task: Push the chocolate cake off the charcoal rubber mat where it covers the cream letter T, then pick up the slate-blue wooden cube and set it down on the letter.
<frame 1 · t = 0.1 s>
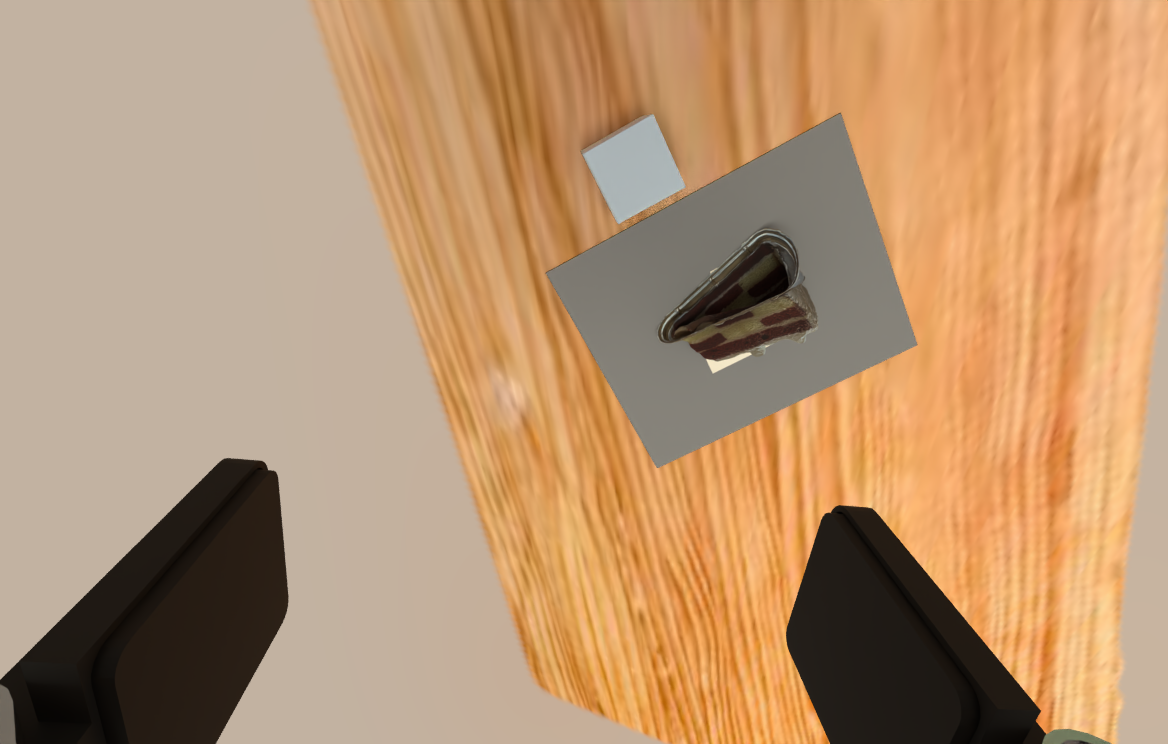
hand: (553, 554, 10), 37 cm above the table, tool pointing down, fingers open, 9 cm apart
letter mat: (738, 310, 48), on the table
cube: (626, 166, 43), on the table
chocolate cake: (738, 309, 48), resting on letter mat
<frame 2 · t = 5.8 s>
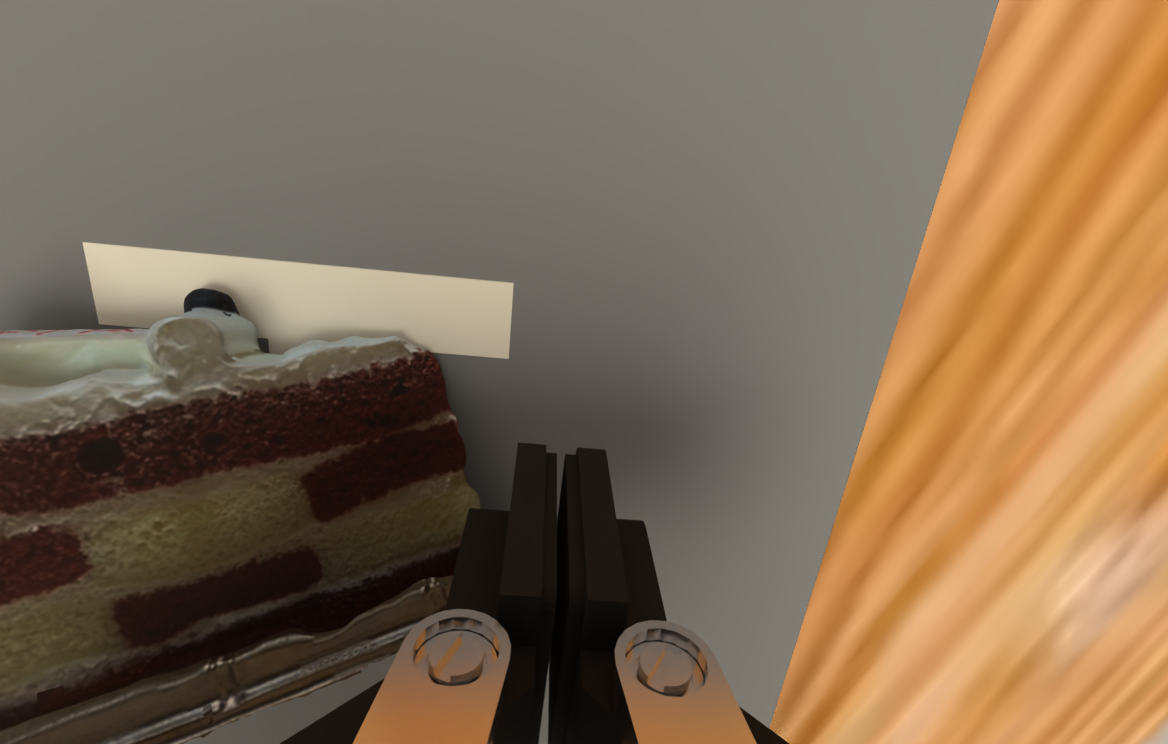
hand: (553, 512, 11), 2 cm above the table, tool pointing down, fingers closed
letter mat: (318, 443, 13), on the table
chocolate cake: (253, 438, 13), resting on letter mat, touching gripper
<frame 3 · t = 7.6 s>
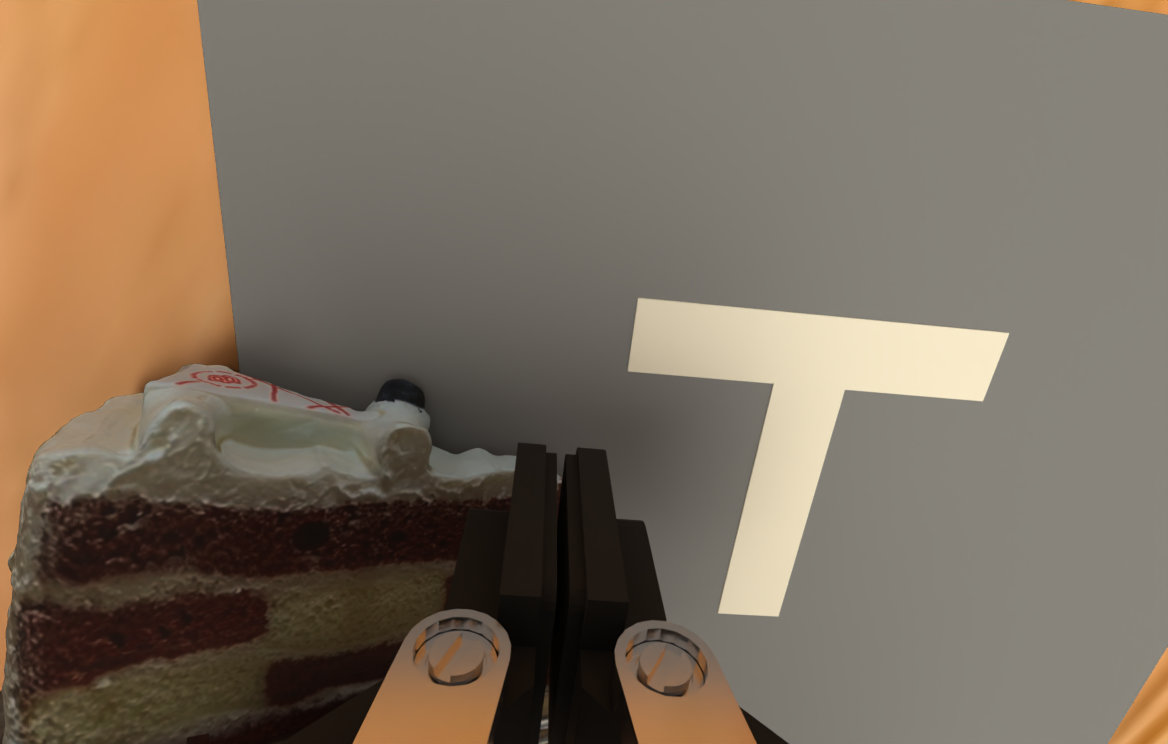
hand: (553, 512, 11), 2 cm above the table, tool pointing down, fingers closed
letter mat: (781, 477, 14), on the table
chocolate cake: (370, 499, 14), resting on letter mat
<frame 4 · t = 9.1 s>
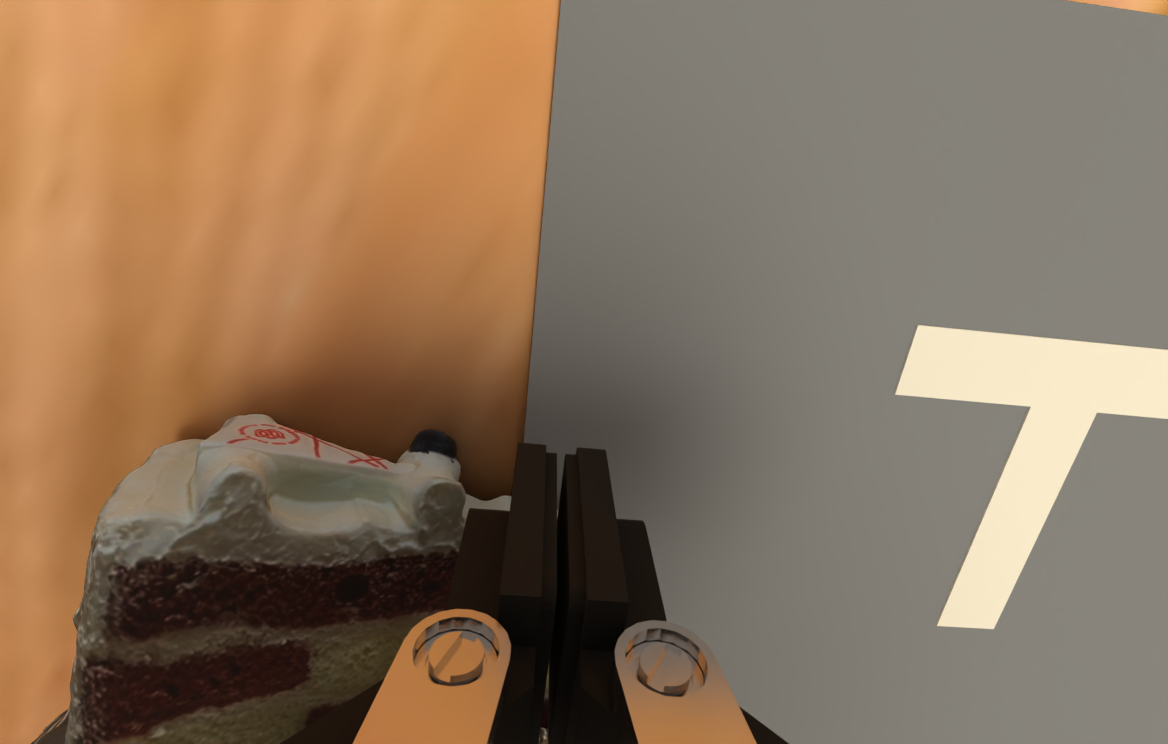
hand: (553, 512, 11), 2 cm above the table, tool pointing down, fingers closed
letter mat: (1018, 496, 14), on the table
chocolate cake: (399, 540, 14), on the table, touching gripper
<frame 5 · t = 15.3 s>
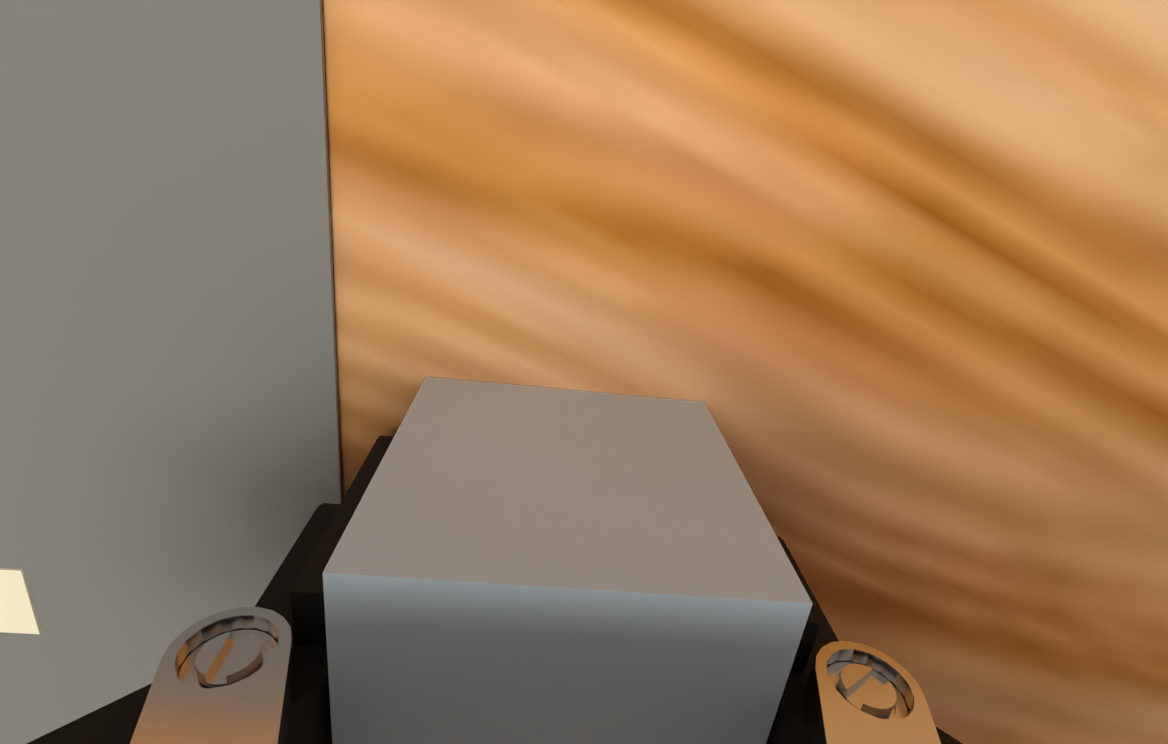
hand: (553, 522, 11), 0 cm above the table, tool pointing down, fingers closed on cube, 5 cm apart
cube: (553, 506, 12), on the table, touching gripper
when the fingers open (2 cm above the table, at t = 21.2 s): cube drops 2 cm, resting on letter mat.
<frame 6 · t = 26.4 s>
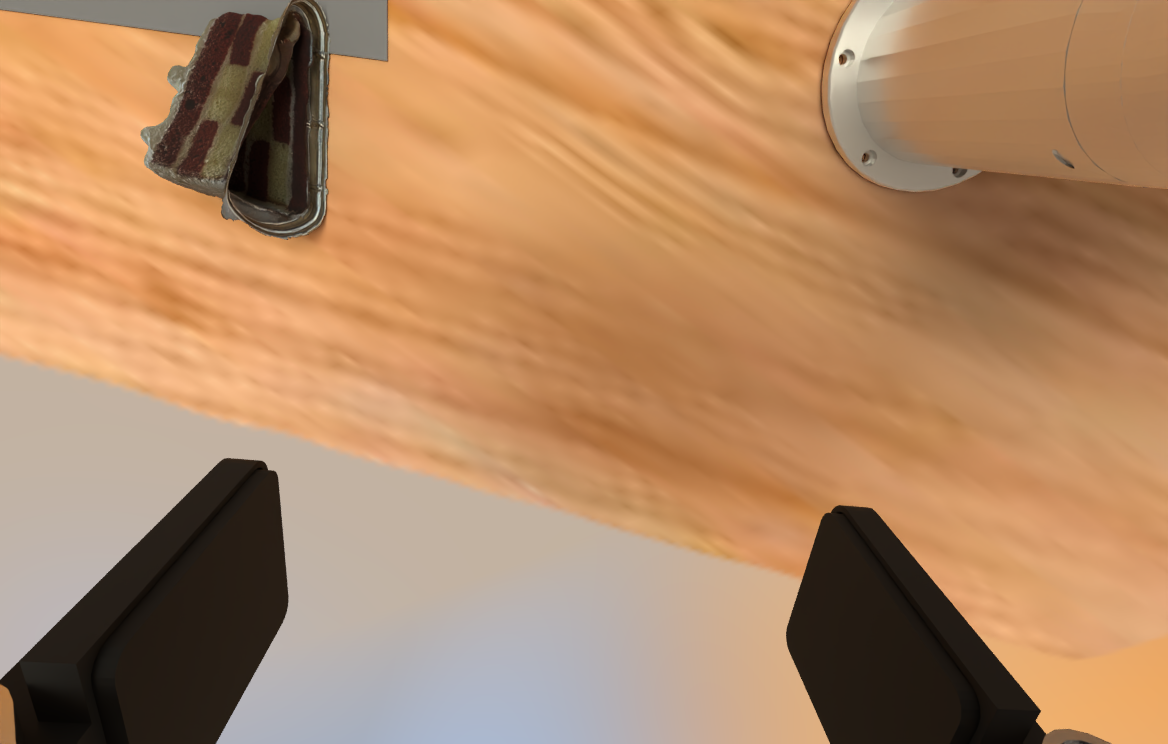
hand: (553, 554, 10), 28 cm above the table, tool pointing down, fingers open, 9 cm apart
chocolate cake: (256, 110, 33), on the table, touching letter mat
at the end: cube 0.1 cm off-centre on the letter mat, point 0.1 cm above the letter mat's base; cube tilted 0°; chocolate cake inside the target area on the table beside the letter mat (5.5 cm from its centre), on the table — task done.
